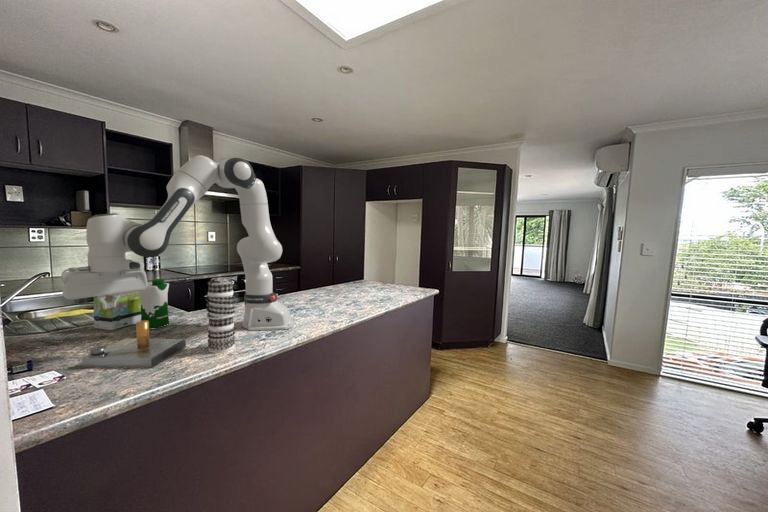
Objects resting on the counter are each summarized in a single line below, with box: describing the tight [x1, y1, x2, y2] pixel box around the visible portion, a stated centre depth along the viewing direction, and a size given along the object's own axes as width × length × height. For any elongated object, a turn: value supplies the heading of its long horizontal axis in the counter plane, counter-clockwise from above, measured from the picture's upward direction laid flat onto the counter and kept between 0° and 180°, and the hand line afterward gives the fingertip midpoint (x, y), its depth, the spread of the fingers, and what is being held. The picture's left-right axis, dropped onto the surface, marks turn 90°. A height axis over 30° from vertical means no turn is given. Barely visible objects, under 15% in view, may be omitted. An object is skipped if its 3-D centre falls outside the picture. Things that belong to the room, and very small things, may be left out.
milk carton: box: [139, 278, 170, 330], centre depth 129 cm, size 9×9×20 cm
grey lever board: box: [81, 338, 187, 369], centre depth 100 cm, size 21×16×3 cm
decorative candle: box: [205, 276, 236, 354], centre depth 108 cm, size 9×9×25 cm
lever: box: [89, 320, 151, 355], centre depth 95 cm, size 14×4×8 cm, turn 117°
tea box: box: [93, 291, 141, 331], centre depth 131 cm, size 15×10×15 cm, turn 168°
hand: (109, 308), depth 97 cm, fingers closed
